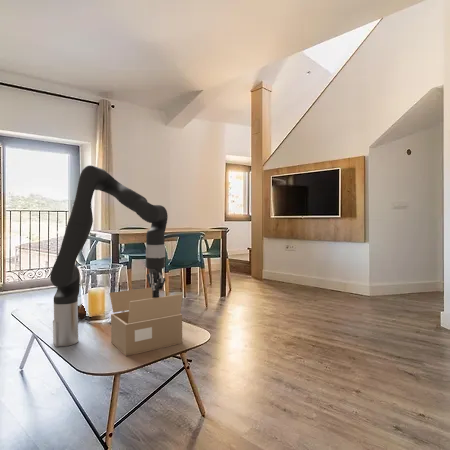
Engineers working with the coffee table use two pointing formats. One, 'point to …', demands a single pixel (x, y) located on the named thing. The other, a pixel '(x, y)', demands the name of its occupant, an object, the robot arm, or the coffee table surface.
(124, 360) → the coffee table surface
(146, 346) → the carton
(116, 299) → the far flap
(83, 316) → the decorative turtle
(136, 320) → the near flap
